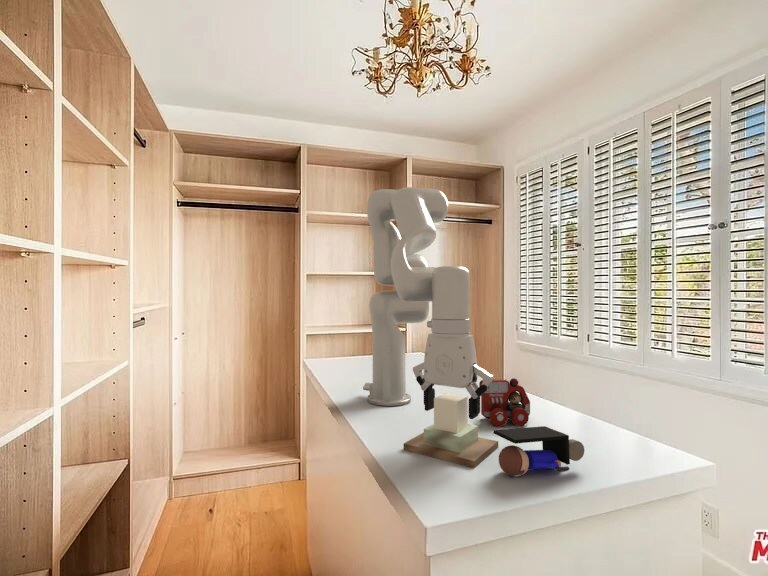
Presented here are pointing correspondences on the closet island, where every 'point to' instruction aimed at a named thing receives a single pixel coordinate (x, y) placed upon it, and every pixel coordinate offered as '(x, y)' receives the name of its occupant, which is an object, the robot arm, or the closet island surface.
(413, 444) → the base
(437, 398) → the cream block
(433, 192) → the robot arm
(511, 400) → the toy fire truck
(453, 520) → the closet island surface
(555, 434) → the figurine character
